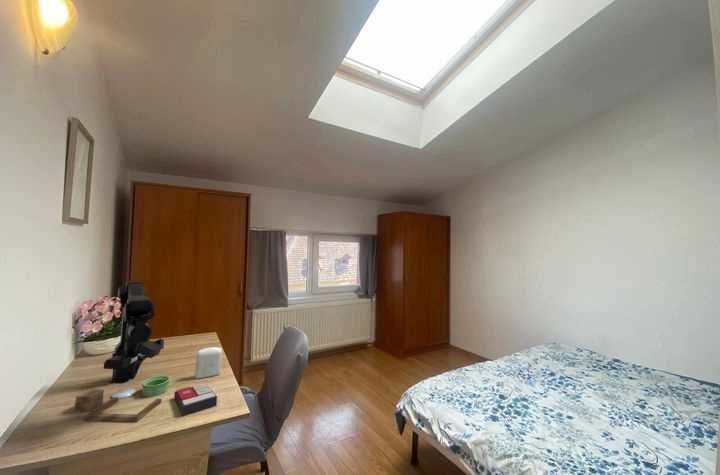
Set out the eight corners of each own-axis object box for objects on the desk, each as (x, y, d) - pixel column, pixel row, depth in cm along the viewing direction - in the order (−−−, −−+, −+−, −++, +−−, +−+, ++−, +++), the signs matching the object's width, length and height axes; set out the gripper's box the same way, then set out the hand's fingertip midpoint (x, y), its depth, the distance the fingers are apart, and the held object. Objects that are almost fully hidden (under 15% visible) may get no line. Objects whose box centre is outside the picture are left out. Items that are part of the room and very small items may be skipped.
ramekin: (162, 396, 107) (163, 385, 107) (135, 398, 105) (136, 386, 105) (173, 385, 115) (174, 374, 116) (148, 386, 114) (149, 375, 114)
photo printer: (219, 371, 130) (221, 344, 131) (221, 375, 127) (223, 347, 127) (194, 376, 125) (196, 348, 125) (195, 380, 121) (197, 351, 122)
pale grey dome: (106, 399, 103) (106, 397, 103) (121, 389, 110) (121, 388, 110) (125, 399, 104) (125, 397, 104) (139, 390, 110) (139, 388, 111)
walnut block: (74, 411, 95) (76, 396, 96) (88, 403, 100) (89, 389, 100) (89, 411, 95) (90, 396, 96) (102, 403, 100) (103, 389, 101)
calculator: (206, 381, 114) (217, 394, 103) (205, 392, 113) (216, 406, 102) (174, 389, 106) (183, 404, 95) (173, 401, 106) (182, 417, 95)
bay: (83, 420, 90) (84, 415, 91) (113, 401, 102) (114, 397, 102) (137, 421, 91) (137, 417, 91) (161, 402, 102) (161, 398, 103)
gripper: (139, 344, 91) (134, 393, 90) (175, 328, 110) (171, 368, 109) (104, 342, 91) (99, 391, 90) (146, 327, 109) (142, 367, 108)
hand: (132, 378), depth 99 cm, fingers closed
